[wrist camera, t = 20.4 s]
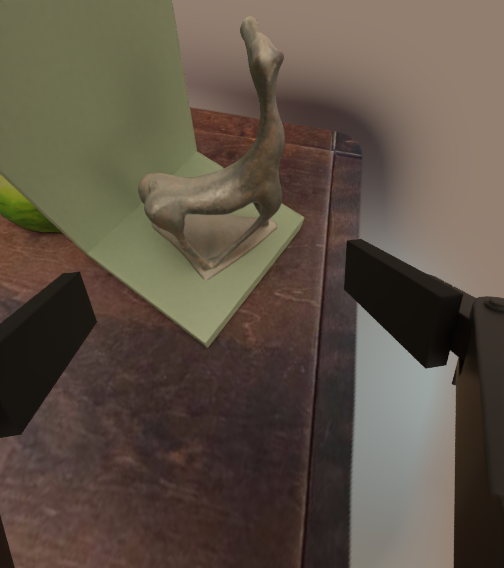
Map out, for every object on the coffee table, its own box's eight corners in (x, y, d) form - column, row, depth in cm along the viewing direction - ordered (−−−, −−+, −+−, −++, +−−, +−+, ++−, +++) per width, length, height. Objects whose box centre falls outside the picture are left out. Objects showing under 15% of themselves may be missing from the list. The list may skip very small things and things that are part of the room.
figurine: (137, 272, 24) (-10, 89, 10) (155, 206, 26) (58, -19, 12) (272, 287, 24) (322, 126, 10) (278, 220, 26) (324, 12, 12)
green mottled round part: (112, 133, 31) (90, 87, 27) (138, 212, 28) (118, 175, 23) (-2, 162, 29) (-48, 118, 25) (11, 252, 26) (-39, 220, 21)
